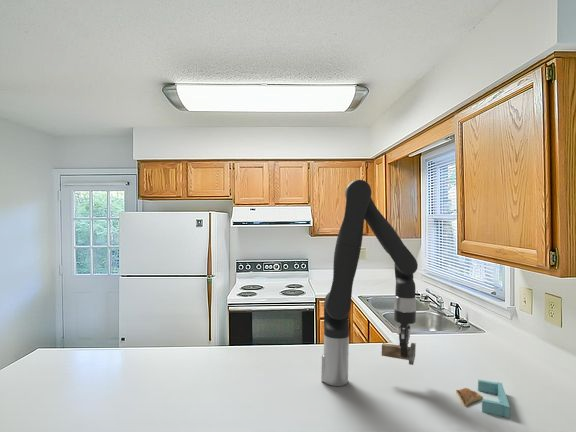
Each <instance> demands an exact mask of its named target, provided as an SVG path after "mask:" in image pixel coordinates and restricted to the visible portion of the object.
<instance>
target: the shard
mask: <svg viewBox="0 0 576 432" xmlns="http://www.w3.org/2000/svg"><path fill="white" fill-rule="evenodd" d="M455 392H456V394H457V396H458V397H459V399H460V401H461V403H462V404H463V406H464V407H468V406H469V405H471V404H473V403H474V402H477V401H479V400H482V399H484V397H483V395H481V394H480V393H479V392H477V391H475V390H472V389H470V388H467V387H464V388H460V389H456V390H455Z"/></svg>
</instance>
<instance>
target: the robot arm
mask: <svg viewBox="0 0 576 432" xmlns="http://www.w3.org/2000/svg"><path fill="white" fill-rule="evenodd" d="M344 195H345V208H344V209H345V210H344V216H343V220H342V222H341V224H340V228H339V231H338V234H337V239H336V243H335V248H334V252H333V254H334V255H333V264H332V265H333V272H332V273H333V275H332V276H333V277H332V282H331V283H332V284H331V287H330V291H329V292H328V293H327V294H326V296H325V298H324V303H323V354H322V356H321V382H324V383H325V384H326V385H330V386H333V387H341V386H345V385H347V384H348V382H349V355H350V353H349V350H350V349H349V348H350V347H349V346H350V325H349V324H350V323H349V313H350V311H351V307H352V294H353V285H354V280H355V275H356V272H357V269H358V265H359V259H360V255H361V251H362V250H361V249H362V243H363V235H364V225H365V222H366V223H367V225H368V226H369V228H370V230H371V232H373V234H374V236H375V237H376V239H377V241H378V242H379V244H380V245H381V246H382V248H383V249H384V251H385V252H386V253H387V254H388V255H389V256H390V258H391V259H392V261H393V262H394V275H395V276H394V277H395V278H394V279H395V288H394V289H395V294H394V295H395V296H394V309H393V310H394V314H393V315H394V317H393V318H394V322H396V323H399V326H398V339H399V344H398V345H399V346H400V347H401V357H404V358H406V357H407V347H409V341H410V338H411V330H412V327H411V325H412V324H415V323H416V321H417V317H416V316H417V314H416V313H417V301H416V283H415V280H414V274H416V272H417V270H418V268H419V267H418V264H419V263H418V261H417V258H415V256H414V255H413V254H412V252H411V251H410V250H409V248H407V246H406V245H405V244H404V242H403V241H402V239H401V237H400V236H399V234H398V233H397V231H396V229H394V227H393V226H392V224H390V222H389V221H388V220H387V219H386V218H385V217H384V215H383V214H382V213H381V212H380V210H379V209H378V207H377V206H376V204H375V203H374V200H373V199H372V188H371V185H370V184H369V183H368V182H367V181H366V180H364V179H355V180H353V181H351V182H349V184H348V185H347V186H346V188H345V191H344Z"/></svg>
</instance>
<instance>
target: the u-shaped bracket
mask: <svg viewBox="0 0 576 432" xmlns="http://www.w3.org/2000/svg"><path fill="white" fill-rule="evenodd" d="M477 391H479V392H482V393H488V394H494V395H497V397H498V401H497V400H496V401H495V400H491V399H490V400H489V399H486V398H482V399H481V412H482V413H487V414H491V415H495V416H501V417H504V418H507V419H510V418H511V415H510V414H511V406H510V403H509V400H508V397H507V394H506V391H505V389H504V385H503V383H502V382H499V381H498V382H496V381H489V380H484V379H477Z"/></svg>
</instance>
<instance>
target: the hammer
mask: <svg viewBox="0 0 576 432" xmlns="http://www.w3.org/2000/svg"><path fill="white" fill-rule="evenodd" d="M416 344H417V343H416V342H411V343H410V346H408V347H407V357H406V358H404V357H401V347H400V346H399V344H398V345H397V344H391V343H384V342H382V344H381V357H388V358H393V359H400V360H404V361H405V360H406V361H408V365H410V366H411V365H412V366H414V363H415V360H416V359H415V358H416V351H417V350H416V346H417V345H416Z"/></svg>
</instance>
